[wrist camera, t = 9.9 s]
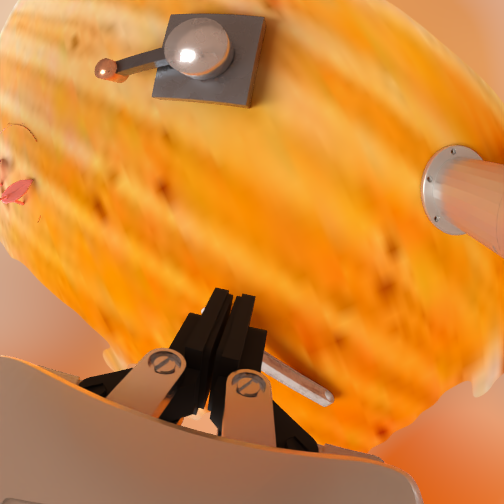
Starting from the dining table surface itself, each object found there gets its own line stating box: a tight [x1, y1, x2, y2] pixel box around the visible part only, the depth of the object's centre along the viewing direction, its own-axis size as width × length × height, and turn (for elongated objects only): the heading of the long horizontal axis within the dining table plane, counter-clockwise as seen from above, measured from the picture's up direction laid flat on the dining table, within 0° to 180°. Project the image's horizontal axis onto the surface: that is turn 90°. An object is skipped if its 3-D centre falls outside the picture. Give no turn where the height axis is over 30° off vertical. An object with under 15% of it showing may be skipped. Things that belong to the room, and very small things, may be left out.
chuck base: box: [152, 14, 266, 108], centre depth 30 cm, size 12×12×3 cm
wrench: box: [201, 308, 334, 407], centre depth 43 cm, size 8×2×30 cm
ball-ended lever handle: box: [95, 18, 234, 83], centre depth 27 cm, size 16×7×4 cm, turn 94°
